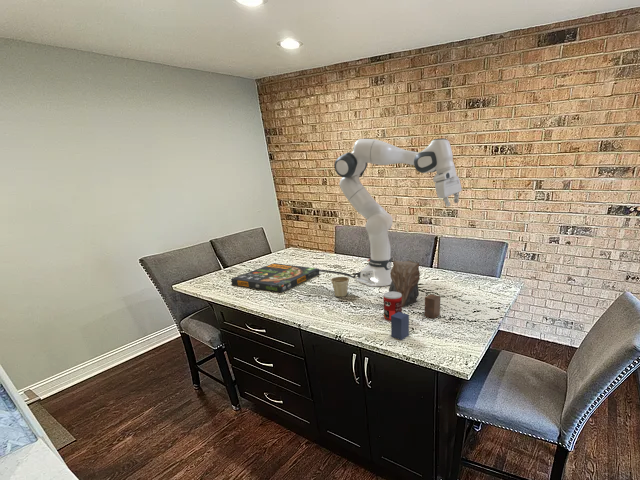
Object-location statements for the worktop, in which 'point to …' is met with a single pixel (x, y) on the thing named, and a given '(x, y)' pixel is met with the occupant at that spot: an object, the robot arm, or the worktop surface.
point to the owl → (405, 280)
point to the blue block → (399, 325)
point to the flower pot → (340, 286)
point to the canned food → (392, 304)
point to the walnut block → (432, 306)
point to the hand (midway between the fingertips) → (452, 204)
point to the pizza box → (275, 277)
